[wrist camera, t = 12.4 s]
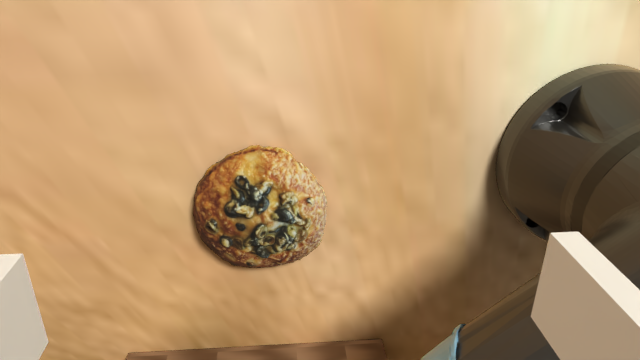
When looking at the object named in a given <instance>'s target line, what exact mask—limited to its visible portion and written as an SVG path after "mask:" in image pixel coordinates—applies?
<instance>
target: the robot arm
mask: <svg viewBox="0 0 640 360" xmlns="http://www.w3.org/2000/svg"><path fill="white" fill-rule="evenodd" d="M496 179H497V185H498V189H499V192H500V195H501V197H502V199H503V201H504V203H505V205H506V206H507V208H508V209H509V210H510V211H511V212H512V214H513V215H514V216H515V217H516V218H517V219H518V220H519V222H520V223H521V224H522V225H523V226H524V227H526V228H527V229H528V230H529V231H531V232H532V233H533V234H535V235H537V236H538V237H540V238H542V239H544V240H547V241H548V244H547V249H546V253H545V257H544V261H543V266H542V270H541V273H540V274H538V275H537V276H536V277H534V278H533V279H531V280H530V281H528V282H527V283H525V284H524V285H523V286H521V287H520V288H518V289H517V290H515V291H514V292H513V293H511V294H510V295H508V296H507V297H505V298H504V299H502V300H501V301H500V302H498V303H497V304H495V305H494V306H492V307H491V308H489V309H488V310H487V311H485V312H484V313H482V314H481V315H479V316H478V317H476V318H475V319H474V320H472V321H471V322H469V323H468V324H460V325H458V326H457V327H456V328H455V329H454V330H453V332H452V334H451V335H450V336H449V337H447V338H446V339H445V340H444V341H442V342H441V343H440V344H438V345H437V346H436V347H435V348H433V349H432V350H431V351H429V352H428V353H427V354H426V355H424V356H423V357H422V358H421V359H420V360H640V70H638V69H635V68H632V67H628V66H623V65H616V64H600V65H593V66H588V67H584V68H580V69H577V70H574V71H571V72H569V73H567V74H564V75H562V76H560V77H558V78H556V79H555V80H553V81H551V82H550V83H548V84H547V85H545V86H544V87H543V88H541V89H540V90H539V91H537V92H536V93H535V94H534V95H533V96H532V97H531V98H530V99H529V100H528V101H527V102H526V103H525V104H524V105H523V106H522V107H521V108H520V110H519V111H518V112H517V113H516V115H515V116H514V118H513V119H512V121H511V122H510V124H509V126H508V128H507V130H506V131H505V134H504V136H503V138H502V141H501V144H500V147H499V151H498V155H497V162H496ZM47 344H48V338H47V335H46V331H45V328H44V325H43V321H42V318H41V314H40V311H39V307H38V304H37V300H36V297H35V294H34V290H33V287H32V283H31V280H30V276H29V273H28V269H27V266H26V263H25V259H24V256H23V254H2V255H0V360H39V358H40V357H41V355H42V353H43V351H44V349H45V348H46V346H47Z"/></svg>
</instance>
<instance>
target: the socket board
mask: <svg viewBox="0 0 640 360" xmlns="http://www.w3.org/2000/svg"><path fill="white" fill-rule="evenodd" d="M126 360H387V357H386V353H385V350H384V346H383V342H382V339H373V340H355V341H337V342H319V343H301V344H283V345H265V346H247V347H228V348H210V349H192V350H174V351H156V352H138V353H128V356H127V359H126Z"/></svg>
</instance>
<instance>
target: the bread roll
mask: <svg viewBox="0 0 640 360" xmlns="http://www.w3.org/2000/svg"><path fill="white" fill-rule="evenodd" d="M326 204H327V201H326V196H325V193H324V191H323V187H322V186H321V185H320V184H319V183H318V182H317V179H316V178H315V177H314V175H313V174H312V173H310V171H309V169H308V168H307V167H305V166H303V164H301V163H299V162H297V161H296V160H295V159H294V158H293V156H292V155H291V153H290V152H288V151H285V150H284V149H282V148H277V147H275V148H274V147H269V146H268V147H262V146H260V145H256V146H252V145H251V146H249V147H247V148H246V149H244V150H240V151H238V152H234V153H232V154H229V155H227V156H226V157H225V158H224V159H223V160H221V161H220V162H217V163H216V164H214V165H212V166H211V167H210V168H209V169H208V170H207V171H206V173H205V175H204V177H203V178H202V179H201V180H200V181H199V183H198V185H197V190H196V194H195V197H194V213H193V215H194V217H195V222H196V226H197V230H198V232H199V234H200V237H201V239H202V240H203V242H204V243H205V244H206V245H207V246H208V247H209V248H210V249H211V250H213V251H214V252H215V253H216V254H217V255H218V256H220V257H221V258H222V259H223V260H225V261H228V262H230V263H231V264H232V265H234V266H243V267H249V268H251V267H257V268H261V267H272V266H278V265H281V264H286V263H293V262H294V261H296V260H300V259H301V258H302V257H304V256H306V255H308V254H309V253H310V252H312V251H313V250H314V249H315V248H317V247H318V246H319V245H320V242H321V241H322V236H323V234H324V227H325V225H326Z"/></svg>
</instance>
